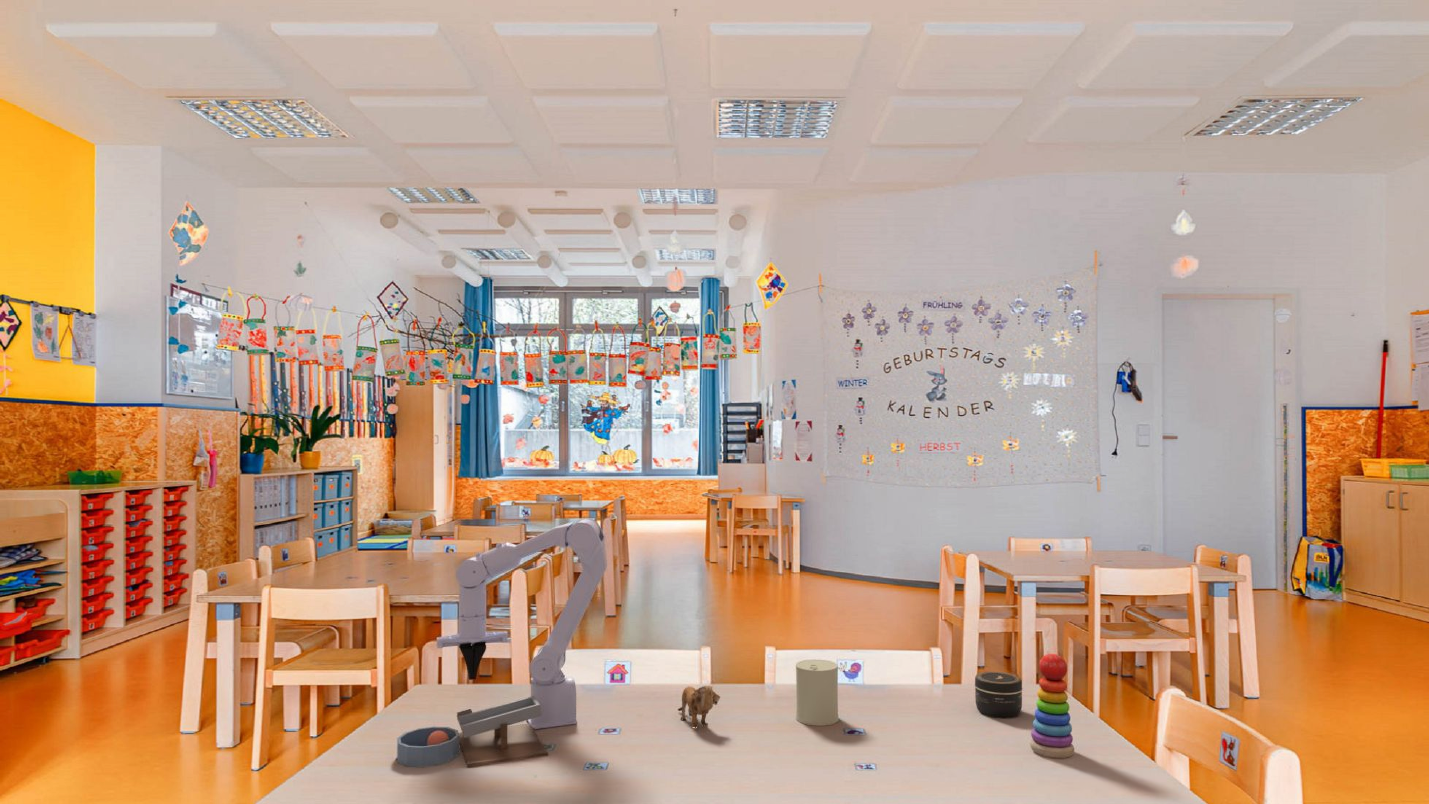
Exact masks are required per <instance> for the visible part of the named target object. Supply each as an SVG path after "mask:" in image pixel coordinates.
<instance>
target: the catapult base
mask: <svg viewBox="0 0 1429 804" xmlns="http://www.w3.org/2000/svg"><path fill="white" fill-rule="evenodd" d="M458 733H459V749H460V750H461V753H462V755H463V760H464V761H465V764H466V767H467V768H472V767H479V766H486V765H491V764H493V765H494V764H498V763H505V762H506V763H507V762H511V761H512V762H513V761H517V760H527V759H531V758H532V759H533V758H539V757H545V756H549V751H548V750H547V748H546V746H545V745H544V743H543V742H542V740H541V738H540V737H539V735H538V734H537V732H536V731H535V729H533V727H532V726H531V724H530V723H528V722H527V723H521V724H512V725H508V726H507V723H505V724H501V728H498V729H494V730H491V731H487V732H484V733H480V734H477V735H473V736H470V737H466V738H464V735H463V733H462V731H460V732H458Z"/></svg>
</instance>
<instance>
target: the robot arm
mask: <svg viewBox="0 0 1429 804" xmlns="http://www.w3.org/2000/svg"><path fill="white" fill-rule="evenodd" d="M605 539H606V538H605V534H604V531H603V530H602V527H601V526H600V524H599V523H598V522H597V521H596V520H594V519H592V518H590V517H584V518H581V519H579V520H578V521H576V522H575V521H572V522H568V523H565V524H561V525H558V526H555V527H553V528H550V529H549V530H546V531H544V532H542V533H539V534H538V535H536V536H534V537H532V538H529V539H527V540H524V541H523V542H520V543H518V544H514V543H511V542H509V541H508V542H505V543H504V542H503V541H501V542H499V543H497V544H495V547H494V548H491V549H489V550H487V551H485V552H482V551H480V552H477V553H475V556H473V557H470V558H467V559H466V560H465V561H462V562H461V563H460V564H459V565H458V566H457V568H456V570H455V577H456V580H457V582H458V585H459V586H458V633H456V634H451V635H446V636H445V635H444V636H439V637H436V647H437V648H436V649H443V648H448V647H449V648H450V647H457V646H458V648H459V649H460V652H461V654H462V657H463V660H464V663H465V666H466V670H467V676H468V680H470V681H473V680H476V679H477V675H478V671H479V667H480V663H481V661H482V659H483V656H484V655H485V653H486V650H487V644H491V643H499V642H500V643H501V642H502V643H507V642H508V631H506V630H504V631H503V630H502V631H500V630H499V631H487V579H493V578H495V577H497V576H501V575H502V574H505V573H508V572H509V571H512V570H513V569H517V568H518V567H519V565H520V563H521V560H522V559H524V558H526V557H529V556H531V555H534V554H536V553H539V552H542V551H544V550H546V549H549V548H553V547H555V546H556V547H558V548H559V547H560V548H564V549H567V547H568V546H569V547H570V549H571V550H572V551H573V552H574V553H575V554H576V555H577V558H578V560H579V562H580V564H581V567H582V571H581V573H580V574H579V576H578V578H577V580H576V582H575V584H574V586H573V589H572V590H571V592H570V594H569V596H568V598H567V600H566V602H565V604H564V607H563V608H562V611H561V612H560V614H559V617H558V618H557V620H556V621H555V625H554V626H553V628H552V631H551V632H550V635H549V636H548V638H547V640H546V642H545V644H544V645H543V646H541V647H540V648H539V650H538V651H537V654H536V655H535V656H534V657H532V660H531V661H530V662H529V669H528V671H529V675H530V676H531V677H530V697H531V696H534V697H535V698H536V700H537V701H538V703H539V704H540V709H541V715H542V716H539V717H536V718H532V719H529V720H526V721H527V724H528V723H530V724H531V726H532V727H533V729H534V730H538V729H539V730H540V729H545V728H546V729H547V728H552V727H561V726H567V725H568V726H570V725H574V724H575V725H576V724H578V721H577V687H576V686H577V685H576V681H575V679H574V678H573V677H566V675H565V673H564V672H563V670H561V669H562V668H563V667H564V665H565V663H566V658H567V657H566V655H567V654H566V652H567V650H568V648H569V645H570V644H571V641H572V638H573V637H574V634H575V633H576V631H577V629H578V626H579V625H580V622H581V620H582V618H583V617H584V614H585V613H586V611H587V608H588V607H589V604H591V600H592V598H593V597H594V594H595V592H596V591H597V588H598V586H599V585H600V583H601V581H602V578H603V576H604V574H605V572H606V571H607V569H608V568H607V567H608V560H607V553H606V552H607V551H606V543H605Z"/></svg>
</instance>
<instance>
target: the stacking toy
mask: <svg viewBox="0 0 1429 804" xmlns="http://www.w3.org/2000/svg"><path fill="white" fill-rule="evenodd" d="M1038 664H1039V671H1040V673H1041V675H1042V677H1041V678H1040V679H1039V681H1038V684H1039V689H1038V690H1037V691H1036V692H1037V693H1036V695H1037V696H1038V699H1036V707H1037V708H1036V709H1035V711H1034V717H1035V719H1034V720H1033V722H1032V727H1033V728H1032V729H1031V733H1030V736H1031V738H1032V739H1031V740H1030V743H1029V746H1030V748H1031V750H1032V751H1033V752H1034V753H1036V754H1038V755H1041V756H1043V757H1047V758H1051V759H1065V758H1069V757H1071V756H1073V754H1074V753H1075V747H1074V745H1073V740H1074V738H1073V735H1072V732H1073V726H1072V724H1071V723H1070V722H1071V715H1070V713H1069V712H1070V711H1069V710H1070V704H1069V702H1068V699H1069V696H1068V695H1069V694H1068V693H1067V692H1066V690H1067V689H1068V684H1067V682H1066V681H1065V679H1064V677H1065V676H1066V675H1067V672H1068V665H1067V662H1066V660H1065V659H1064V658H1063V657H1062V656H1060V655H1058V654H1056V653H1048V654H1045V655H1044V656H1042V658H1040V660H1039V663H1038Z"/></svg>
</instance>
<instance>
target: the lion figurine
mask: <svg viewBox="0 0 1429 804" xmlns="http://www.w3.org/2000/svg"><path fill="white" fill-rule="evenodd" d="M720 698H721V696H720V695H719V694H718V693H717V692H715V691H714V690H713V687H712V685H711V686H710V685H704V686H701V687H698V688H697V689H696V688H694V686H687V687H685V688H684V689H683V691H682V694H681V707H678V708H677V711H679V712H681V716H680V720H681V719H685V720H687V718H686V708H687V707H688V710H687V711H688V714H689V715H691V721H692V722H691V728H692V727H695V728H696V727H698V725H699V724H698V722H697V716H698V715H699V716H701V719H700V725H701V724H702V725H703V726H702V725H701V726H702V727H708V726H707V725H709V723H708V722H706V719H707V715H708V714H709V712H710V710H712V709H713V707H714V705H715V706H717V705H718V702H719V701H720Z"/></svg>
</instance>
